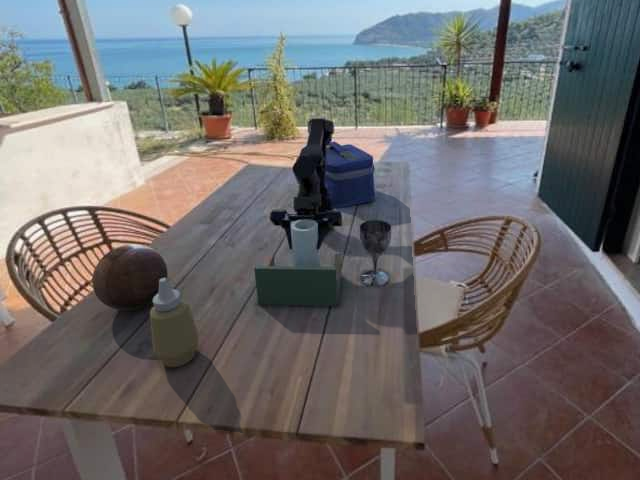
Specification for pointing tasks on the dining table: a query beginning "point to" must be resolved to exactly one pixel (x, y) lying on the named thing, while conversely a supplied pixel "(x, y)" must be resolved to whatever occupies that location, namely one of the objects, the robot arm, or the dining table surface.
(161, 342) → the squeeze bottle
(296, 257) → the storage jar
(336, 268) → the cubby cabinet
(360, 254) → the dining table surface
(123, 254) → the wooden sphere
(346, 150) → the lunch bag
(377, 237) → the wine glass
